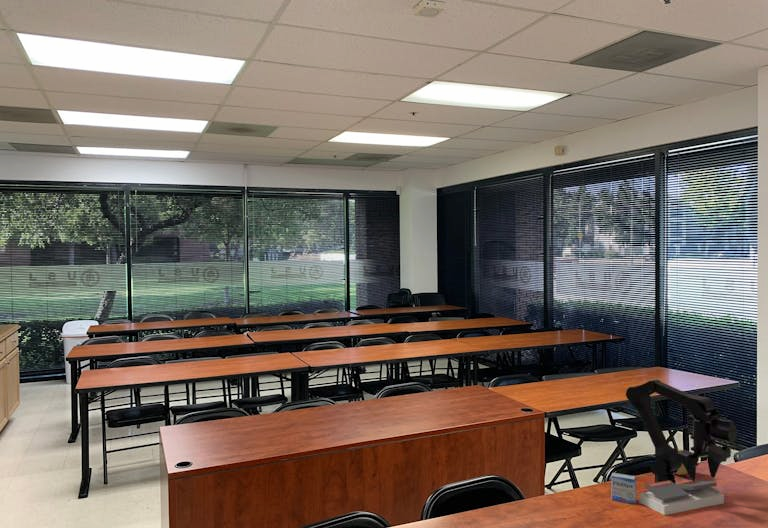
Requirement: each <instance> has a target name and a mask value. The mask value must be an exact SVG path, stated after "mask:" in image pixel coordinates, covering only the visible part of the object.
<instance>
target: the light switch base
mask: <svg viewBox="0 0 768 528" xmlns="http://www.w3.org/2000/svg"><path fill="white" fill-rule="evenodd" d="M682 490H684V489H682ZM684 491H685V492H686V493H688V494H689V495H688V497H687V498H681V499H676V500H671V501H666V502H663V501H662V500H660V499H659V498H658V497H657V496H655V495H654V494H653V493H652V492H650V491H647V492H645V491H643V492H641V493H638V502H639V503H640V504H641V505H643V506H646V507H647V508H650V509H651V510H653V511H655V512H658V513H660V514H661V515H664V516H667V515H673V514H676V513H681V512H682V513H683V512H687V511H693V510H697V509H701V508H707V507H711V506H718V505H722V504H725V494H723V493H721V490H719V489H717V488H716V487H714V486H713V487H708V488H703V489H697V490H684Z"/></svg>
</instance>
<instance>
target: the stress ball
mask: <svg viewBox="0 0 768 528" xmlns="http://www.w3.org/2000/svg"><path fill="white" fill-rule="evenodd" d="M677 449H678V451H683V450H684V449H681V448H677ZM676 474H678V475H677V476H680V475H682V476H684V475H687V474H688V472H687V470H686V468H685V467H684V465H683V463H682V465H681V467H680V468H679V469H678V471H677V473H674V475H676Z"/></svg>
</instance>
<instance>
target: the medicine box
mask: <svg viewBox="0 0 768 528" xmlns="http://www.w3.org/2000/svg"><path fill="white" fill-rule="evenodd" d="M610 478H611V480H610V481H611V483H610V485H611V489H610V490H611V491H610V492H611V493H610V494H611V497H610V498H611V501H612V502H614V501H615V502H619V503H625V504H632V505H636V502H637V476H636V475H629V474H624V473H618V472H617V473H616V472H612V473H611V477H610Z"/></svg>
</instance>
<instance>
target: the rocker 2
mask: <svg viewBox="0 0 768 528" xmlns="http://www.w3.org/2000/svg"><path fill="white" fill-rule="evenodd" d="M675 484H676V485H677V486H678V487H680V488H681V489H684V490H697V489H703V488H708V487H713V488H714V487H717V486H718V485H717V482H716V481H709V480H696V479H695V481H692V480H690V481H686V482H679V483H675Z"/></svg>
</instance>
